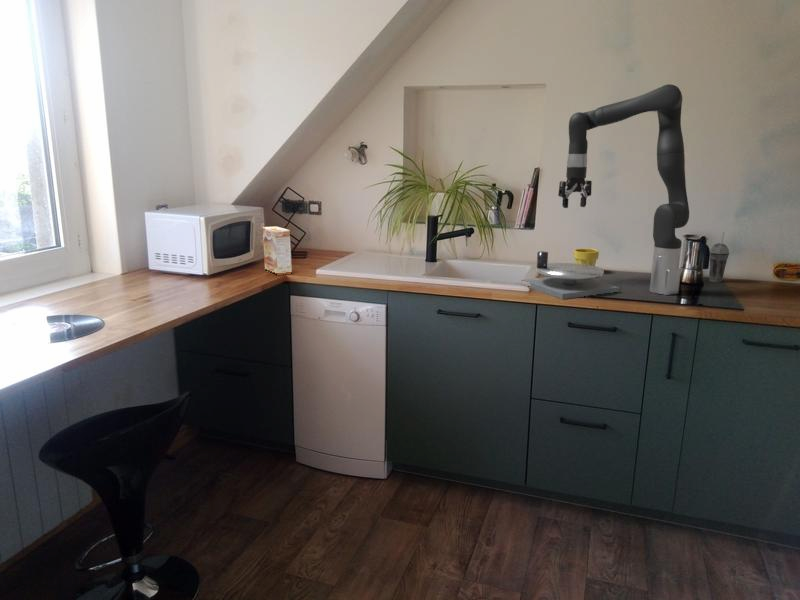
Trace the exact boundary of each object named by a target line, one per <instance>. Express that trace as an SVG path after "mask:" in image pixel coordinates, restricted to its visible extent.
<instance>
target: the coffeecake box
mask: <svg viewBox="0 0 800 600" xmlns="http://www.w3.org/2000/svg"><path fill="white" fill-rule="evenodd" d="M262 242H263V256H264V257H263V260H264V270H265V269H267V270H270V271H272V272H275V273H286V272H292V271H293V270H292V269H293V268H292V252H291V251H292V249H291V248H292V247H291V230H290V229H287V228H284V227H280V226H277V225H276V226H275V225H274V226H263V227H262ZM292 273H293V272H292Z"/></svg>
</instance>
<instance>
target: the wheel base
mask: <svg viewBox="0 0 800 600" xmlns="http://www.w3.org/2000/svg"><path fill="white" fill-rule="evenodd" d="M520 281H526V282H529V283H530V284H531V288H530V289H532V290H536V291H538V292H541V293H543V294H546V295H549V296H552V297H554V298H557V299H561V300H567V299H575V298H583V297H584V296H585V297H590V296H589V295H594V296H597V295H596V294H602V295H604V294H603V293H611V294H614V293H613V292H618V293H619V290H620V287H618V286H615V285H612V284H608V283H605V282H602V281H599V280H598V281H597V280H594V279H581V280H576V279H560V278H552V277H547V276H544V277H537V278H527V279H521V280H520Z"/></svg>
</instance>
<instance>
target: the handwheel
mask: <svg viewBox="0 0 800 600" xmlns="http://www.w3.org/2000/svg"><path fill="white" fill-rule="evenodd" d="M548 257H549V252H548V251H543V250H542V251H537V257H536V273H537V274H539V275H541V276H544V277H552V278H560V279H576V280H581V279H591V280H594V279H598V278H603V276H604V273H605V271H604V269H603V268H602V267H599V266H596V265H595V266H591V265H585V264H576V262H575V263H574V262H554V263H553V262H549V263H548V260H549V258H548Z"/></svg>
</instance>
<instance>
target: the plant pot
mask: <svg viewBox="0 0 800 600" xmlns="http://www.w3.org/2000/svg"><path fill="white" fill-rule="evenodd" d="M599 252H600V251H599V250H597V249H595V248H576V249H574V250H573V258H574V261H575V263H576V264H585V265H591V266H596V263H597V260H598V259H599V255H600V253H599Z"/></svg>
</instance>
